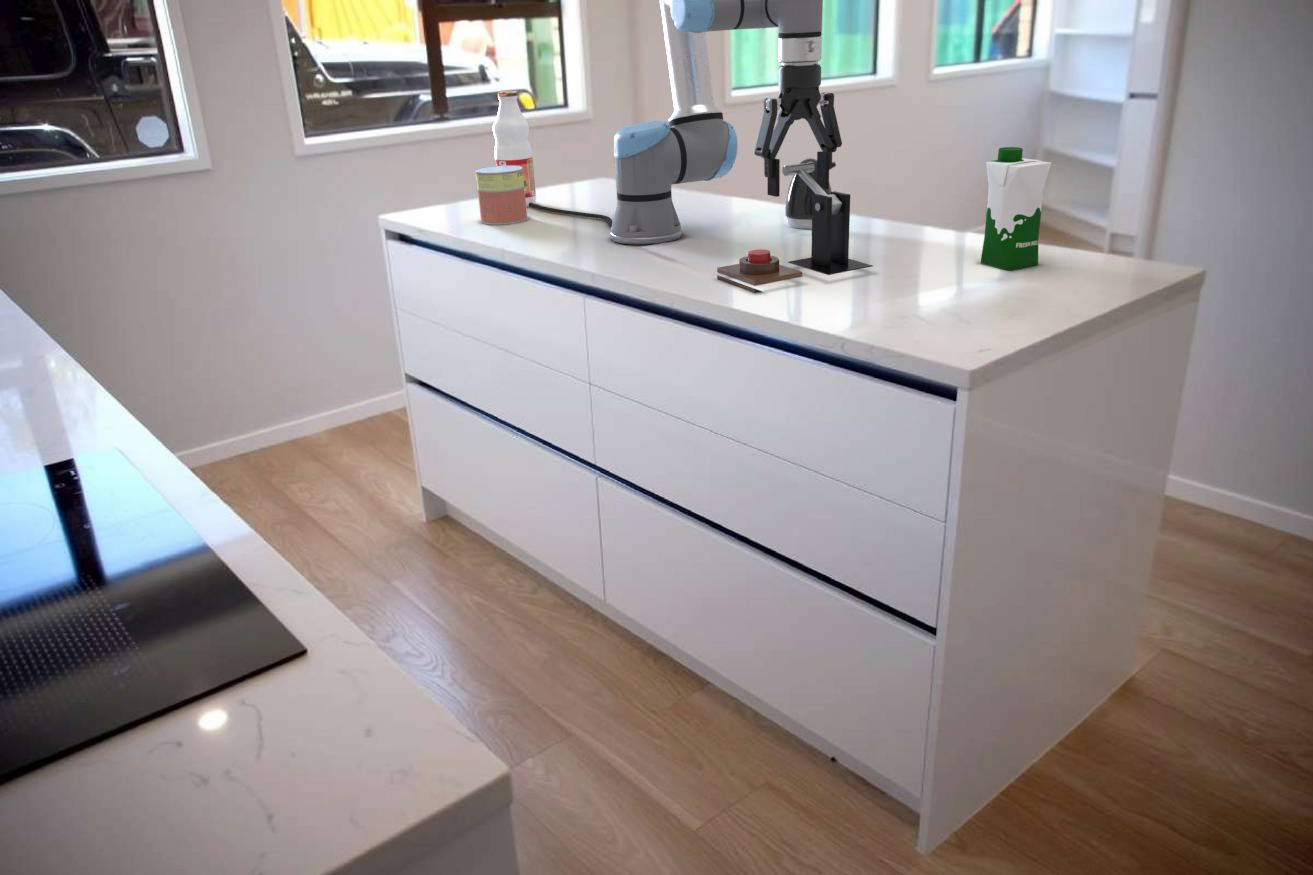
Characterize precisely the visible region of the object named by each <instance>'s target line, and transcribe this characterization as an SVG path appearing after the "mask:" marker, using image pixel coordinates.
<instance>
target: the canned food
mask: <svg viewBox="0 0 1313 875" xmlns="http://www.w3.org/2000/svg"><path fill="white" fill-rule="evenodd" d="M474 173H475V179H476V187H477V196H478V206H479V214H480V223H482V224H484V225H490V226H491V225H492V226H494V225H495V226H499V225H501V226H502V225H511V224H519V223H521V222H522V223H523V222H524V221H527V220H528V219H529V217H528V211H527V207H526V199H525V189H524V178H523V167H521V166H496V165H495V166H494V165H493V166H486V167H480V168H476V169H475V170H474Z"/></svg>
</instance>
